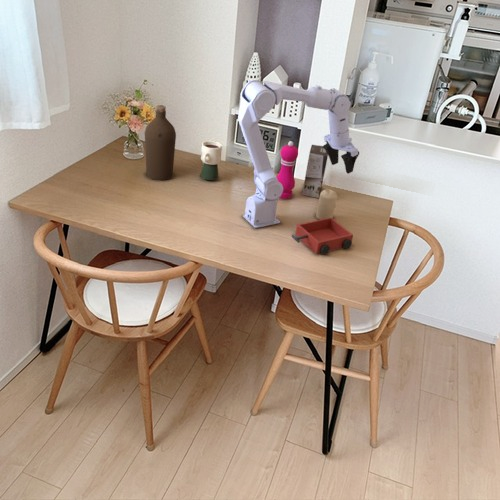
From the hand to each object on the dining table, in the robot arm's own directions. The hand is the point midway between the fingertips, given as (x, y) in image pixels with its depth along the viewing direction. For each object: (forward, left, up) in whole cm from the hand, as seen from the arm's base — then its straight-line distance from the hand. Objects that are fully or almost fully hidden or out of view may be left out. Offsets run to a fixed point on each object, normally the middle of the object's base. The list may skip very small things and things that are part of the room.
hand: (342, 167), depth 171 cm
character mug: (-28, +37, -17) cm, 50 cm away
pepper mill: (-9, +17, -17) cm, 26 cm away
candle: (-4, -1, -17) cm, 18 cm away
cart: (-14, -13, -17) cm, 26 cm away
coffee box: (+3, +16, -17) cm, 24 cm away
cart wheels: (-17, -13, -17) cm, 27 cm away
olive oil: (-44, +45, -17) cm, 65 cm away
